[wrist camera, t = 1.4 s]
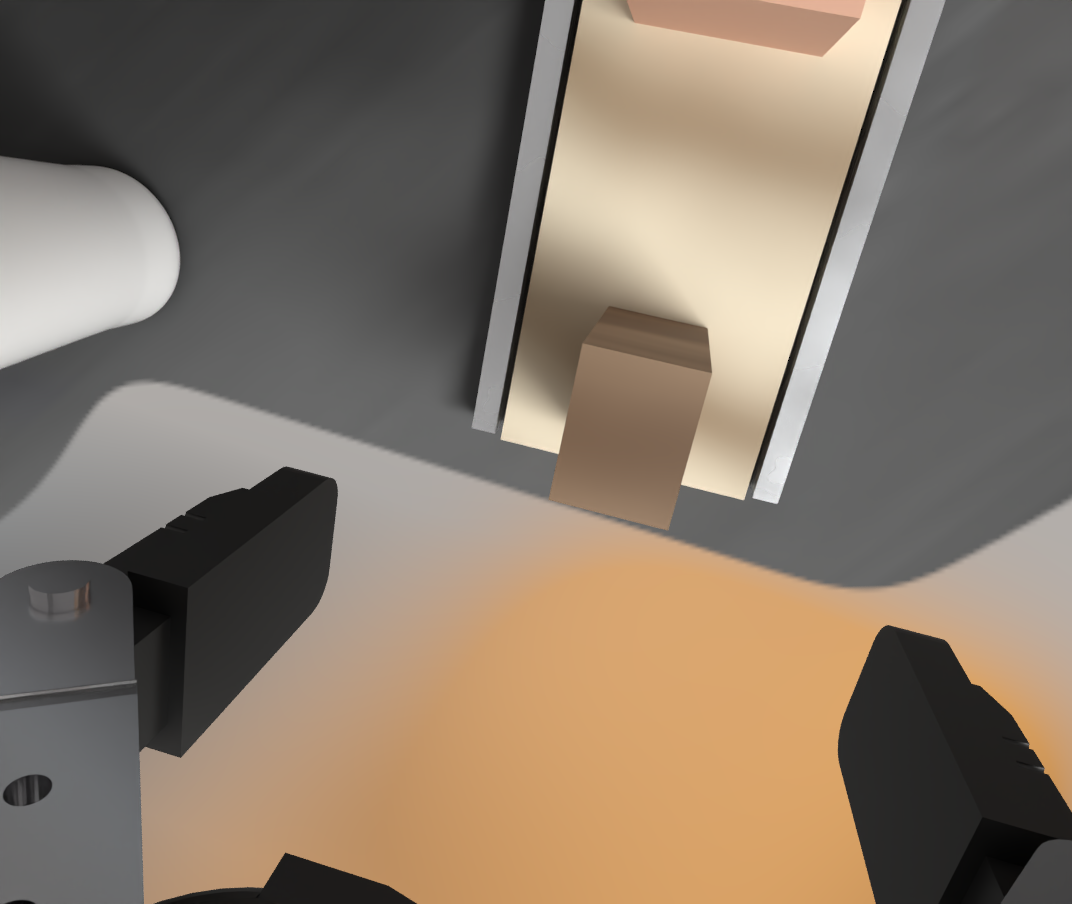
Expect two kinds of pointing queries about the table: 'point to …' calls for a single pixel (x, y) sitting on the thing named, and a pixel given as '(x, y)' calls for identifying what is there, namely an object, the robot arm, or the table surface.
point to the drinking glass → (77, 255)
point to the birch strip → (679, 253)
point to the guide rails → (834, 268)
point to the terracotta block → (756, 20)
